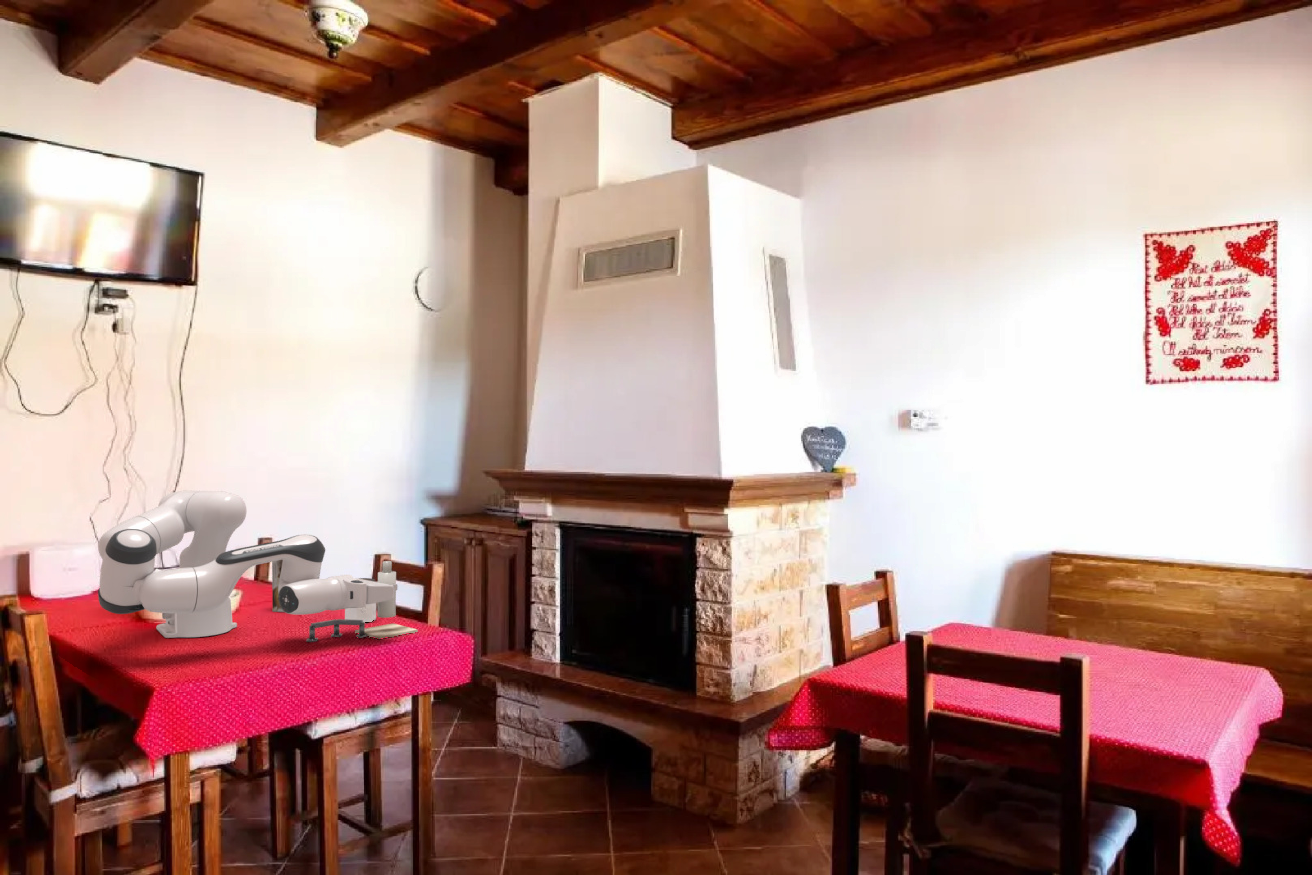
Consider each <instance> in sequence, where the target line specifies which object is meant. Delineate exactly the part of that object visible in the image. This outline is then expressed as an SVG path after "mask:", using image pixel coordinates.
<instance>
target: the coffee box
mask: <svg viewBox="0 0 1312 875" xmlns="http://www.w3.org/2000/svg"><path fill="white" fill-rule="evenodd" d="M282 562H283V560H278V561H273V562H271V572H272V573H271V576H272V577H271V578H272V582H271V583H272V584H271V585H272V586H271V587H272V590H271V591H272V609H271V610H272V611H271V612H276V613H277V612H279V613H285V612H284V611H283V610H282V608H281V607H280V604H279V600H278V587H279V580H280V575H281V569H282Z"/></svg>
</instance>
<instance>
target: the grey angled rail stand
mask: <svg viewBox="0 0 1312 875" xmlns="http://www.w3.org/2000/svg"><path fill="white" fill-rule="evenodd" d="M330 626H333V633H330V634H331V635H330V637H331V638H332V637H339V638H342V637H343V633H341V632H340V626H358V630H359V634H357V635H355V636H356V637H358V638H363V637H367V634H365V628H366V627H365V626H366V623H365V622H363V620H348V619H345V618H343V619H341V618H337V619H336V618H335V619H330V620H323V621H317V622H312V623H310V625H309V628H308V631H309V634H308V638H306V643H316V642H318V641H319V640H318V639H319V638H318V637H316V629H318V628H325V627H330ZM341 636H342V637H341ZM356 637H355V638H356ZM358 638H357V639H358ZM367 638H368V637H367ZM363 639H364V638H363Z"/></svg>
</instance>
